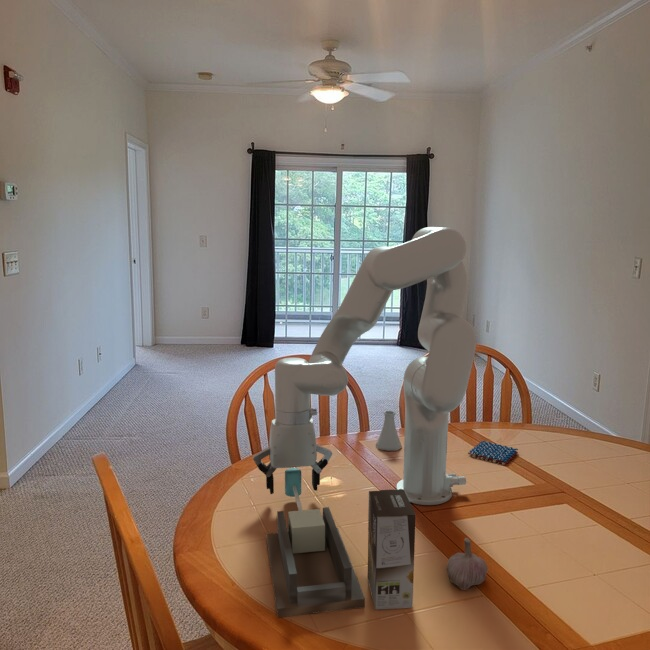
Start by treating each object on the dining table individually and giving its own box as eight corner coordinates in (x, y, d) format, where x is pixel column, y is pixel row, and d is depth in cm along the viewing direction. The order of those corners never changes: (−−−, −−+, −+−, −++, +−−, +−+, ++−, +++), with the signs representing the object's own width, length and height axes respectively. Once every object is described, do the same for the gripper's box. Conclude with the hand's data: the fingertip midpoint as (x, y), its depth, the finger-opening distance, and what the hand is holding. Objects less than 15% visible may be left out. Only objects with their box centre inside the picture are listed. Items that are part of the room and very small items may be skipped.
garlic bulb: (460, 598, 92) (463, 553, 91) (435, 573, 99) (437, 531, 98) (497, 587, 95) (500, 543, 94) (470, 563, 102) (472, 523, 101)
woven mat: (480, 445, 158) (481, 438, 158) (518, 454, 152) (519, 447, 152) (466, 457, 150) (466, 450, 150) (505, 468, 144) (506, 460, 143)
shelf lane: (337, 534, 111) (337, 503, 110) (364, 607, 90) (365, 570, 89) (266, 540, 109) (266, 509, 108) (277, 617, 87) (277, 579, 86)
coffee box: (414, 608, 90) (417, 515, 87) (374, 610, 89) (376, 517, 86) (401, 573, 99) (404, 488, 96) (365, 575, 98) (367, 489, 95)
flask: (400, 452, 152) (401, 417, 150) (374, 450, 153) (374, 415, 151) (402, 443, 159) (403, 409, 157) (377, 441, 160) (377, 407, 158)
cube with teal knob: (305, 489, 126) (305, 467, 126) (324, 550, 102) (325, 524, 102) (278, 491, 125) (278, 469, 125) (292, 553, 101) (292, 527, 101)
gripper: (329, 407, 126) (328, 479, 129) (251, 412, 123) (252, 485, 126) (335, 418, 119) (334, 494, 122) (253, 423, 116) (254, 500, 119)
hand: (293, 489), depth 124 cm, fingers open, 9 cm apart
